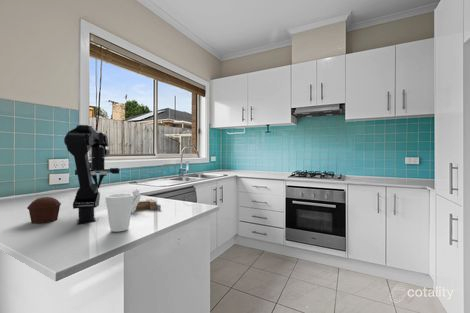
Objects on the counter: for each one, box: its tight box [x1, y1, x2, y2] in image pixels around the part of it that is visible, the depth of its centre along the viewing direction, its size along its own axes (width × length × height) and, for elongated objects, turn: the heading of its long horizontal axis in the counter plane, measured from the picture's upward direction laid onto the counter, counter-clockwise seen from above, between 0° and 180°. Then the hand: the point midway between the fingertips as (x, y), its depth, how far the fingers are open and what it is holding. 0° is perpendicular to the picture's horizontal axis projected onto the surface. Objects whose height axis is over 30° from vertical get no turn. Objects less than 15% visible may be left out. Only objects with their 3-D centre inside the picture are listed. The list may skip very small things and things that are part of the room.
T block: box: [135, 198, 157, 211], centre depth 118 cm, size 9×9×4 cm
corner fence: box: [155, 202, 162, 212], centre depth 118 cm, size 16×11×3 cm
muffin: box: [26, 196, 62, 225], centre depth 97 cm, size 12×11×10 cm
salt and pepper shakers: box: [130, 188, 142, 214], centre depth 115 cm, size 12×4×11 cm, turn 36°
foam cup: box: [105, 192, 133, 233], centre depth 86 cm, size 10×9×13 cm
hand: (97, 188), depth 112 cm, fingers closed
